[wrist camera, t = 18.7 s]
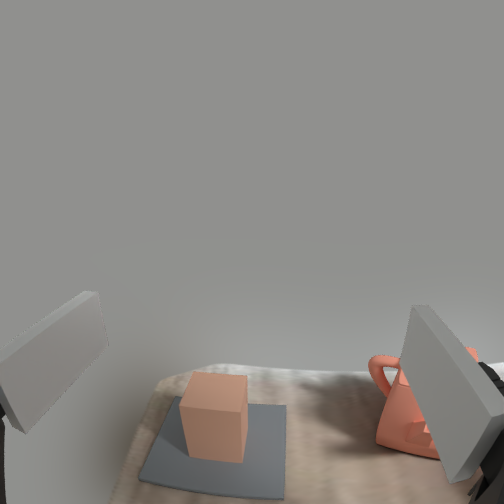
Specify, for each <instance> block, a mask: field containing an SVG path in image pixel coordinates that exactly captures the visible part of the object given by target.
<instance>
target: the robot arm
mask: <svg viewBox="0 0 504 504" xmlns="http://www.w3.org/2000/svg"><path fill="white" fill-rule="evenodd" d="M108 346H109V343H108V339H107V335H106V330H105V326H104V321H103V316H102V310H101V306H100V300H99V294H98V292H94V291H84V292H82V293H81V294H79V295H77V296H76V297H74V298H73V299H71V300H70V301H68V302H67V303H65V304H64V305H62V306H61V307H59V308H58V309H56V310H55V311H53V312H52V313H50V314H49V315H47V316H46V317H44V318H43V319H42V320H40V321H39V322H37V323H36V324H34V325H33V326H31V327H30V328H29V329H27V330H26V331H25V332H23V333H21V334H20V335H18V336H17V337H16V338H14V339H13V340H11V341H10V342H9V343H7V344H6V345H4V346H3V347H2V348H0V504H6V496H5V478H4V435H5V425H4V422H3V420H2V419H1V418H2V417H3V416H4V415H5V414H6V416H7V417H8V419H9V421H10V423H11V425H12V427H14V428H16V429H18V430H19V431H21V432H23V433H25V434H26V433H27V432H28V431H29V430H30V429H31V428H32V427H33V426H34V425H35V423H36V422H37V421H38V420H39V419H40V418H41V417H42V416H43V414H45V412H46V411H47V410H48V409H49V408H50V407H51V406H52V405H53V404H54V403H55V402H56V401H57V400H58V398H59V397H60V396H61V395H62V394H63V393H64V392H65V391H66V390H67V389H68V388H69V387H70V386H71V385H72V384H73V383H74V381H75V380H76V379H77V378H78V377H79V376H80V375H81V374H82V373H83V372H84V371H85V370H86V369H87V368H88V367H89V366H90V365H91V364H92V363H93V362H94V360H96V358H97V357H98V356H99V355H100V354H101V353H102V352H103V351H104V350H105V349H106V348H107V347H108ZM399 364H400V366H401V369H402V371H403V373H404V375H405V377H406V379H407V381H408V384H409V386H410V388H411V390H412V392H413V395H414V397H415V399H416V401H417V404H418V406H419V408H420V411H421V413H422V415H423V418H424V420H425V422H426V425H427V427H428V429H429V432H430V434H431V437H432V439H433V442H434V444H435V447H436V449H437V452H438V454H439V457H440V460H441V462H442V465H443V467H444V470H445V473H446V476H447V478H448V481H449V484H452V483H456V482H459V481H463V480H466V479H469V478H471V477H472V476H473V474H474V473H475V471H476V470H477V469H478V467H479V466H480V467H481V469H482V471H483V475H482V476H481V478H480V479H479V480H478V481H477V483H476V484H475V485H474V486H473V488H472V489H471V490H470V492H469V493H468V494H467V495H469V496H470V495H471V494H472V493H473V492H474V493H473V495H472V498H471V500H470V502H469V504H504V382H503V381H502V380H500V377H499V376H498V375H497V373H496V372H495V371H494V370H493V369H492V368H491V367H489V366H488V365H486V364H485V363H483V362H478V363H477V362H476V360H475V359H474V358H473V357H472V355H471V354H470V353H469V352H468V350H467V349H466V348H465V347H464V346H463V344H462V343H461V342H460V341H459V340H458V338H457V337H456V336H455V335H454V334H453V332H452V331H451V330H450V329H449V328H448V327H447V325H446V324H445V323H444V322H443V321H442V320H441V318H440V317H439V316H438V315H437V314H436V313H435V312H434V311H433V309H432V308H431V307H430V306H429V305H412V307H411V312H410V318H409V323H408V327H407V332H406V337H405V341H404V345H403V350H402V353H401V358H400V361H399Z"/></svg>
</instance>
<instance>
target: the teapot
mask: <svg viewBox="0 0 504 504" xmlns="http://www.w3.org/2000/svg"><path fill="white" fill-rule="evenodd" d="M465 348H466V349H467V350H468V352H469V353H470V354H471V355H472V357H473V358H474V359H475V360H476V362H477V363H478V356H477V352H476V350H475V349H473V348H468V347H465ZM399 361H400V358H396V357H392V356H385V355H378V356H374V357H372V358H371V359H370V360H369V363H368V367H369V372H370V374H371V376H372V378H373V380H374V381H375V383H376V384H377V386H378V387H379V388H380V390H381V391H382V392H383V394H384V395H385V396H386V397H387V401H386V403H385V406H384V409H383V412H382V415H381V418H380V422H379V425H378V429H377V434H376V443H377V444H379V445H382V446H385V447H388V448H392V449H396V450H399V451H403V452H407V453H412V454H416V455H421V456H426V457H431V458H437V459H440V457H439V454H438V452H437V449H436V447H435V444H434V442H433V439H432V437H431V434H430V432H429V429H428V427H427V425H426V422H425V420H424V418H423V415H422V413H421V411H420V408H419V406H418V404H417V401H416V399H415V397H414V395H413V392H412V390H411V388H410V386H409V384H408V381H407V379H406V377H405V375H404V373H403V371H402V369H401V366H400V364H399ZM383 367H393V368H397V369H399V370H398V372H397V375H396V377H395V380H394V382H393V385H392V387H391V386H390V384H389V383H388V381H387V379H386V377H385V374H384V371H383Z"/></svg>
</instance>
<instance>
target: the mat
mask: <svg viewBox="0 0 504 504" xmlns="http://www.w3.org/2000/svg"><path fill="white" fill-rule="evenodd" d="M181 399H182V397H178V396H176V397H175V399H174V401H173V403H172V405H171V407H170V409H169V412H168V414H167V416H166V418H165V420H164V422H163V425H162V427H161V429H160V431H159V433H158V436H157V438H156V440H155V442H154V444H153V446H152V449H151V451H150V453H149V455H148V457H147V460H146V462H145V464H144V466H143V468H142V470H141V473H140V475H139V477H138V479H139V480H140V481H144V482H148V483H152V484H156V485H161V486H165V487H170V488H175V489H180V490H185V491H191V492H197V493H203V494H210V495H218V496H226V497H236V498H248V499H264V500H284V484H285V450H286V405H266V404H248V431H247V437H246V444H245V450H244V456H243V463H233V462H223V461H215V460H207V459H199V458H193V457H189V452H188V448H187V443H186V439H185V434H184V429H183V424H182V419H181V414H180V409H179V404H180V402H181Z"/></svg>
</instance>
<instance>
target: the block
mask: <svg viewBox="0 0 504 504" xmlns="http://www.w3.org/2000/svg"><path fill="white" fill-rule="evenodd" d="M179 409H180V414H181V419H182V424H183V429H184V434H185V439H186V443H187V448H188V452H189V457H193V458H199V459H207V460H215V461H223V462H233V463H243V456H244V450H245V444H246V437H247V431H248V398H247V376H243V375H228V374H215V373H204V372H193V374H192V376H191V379H190V381H189V383H188V386H187V388H186V390H185V393H184V395H183V397H182V399H181V402H180V404H179Z"/></svg>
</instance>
